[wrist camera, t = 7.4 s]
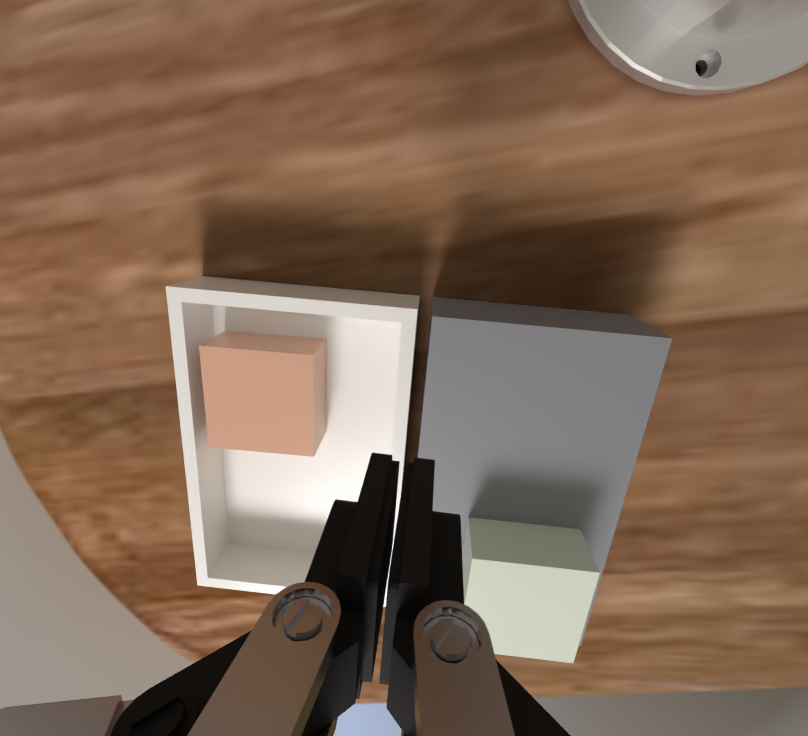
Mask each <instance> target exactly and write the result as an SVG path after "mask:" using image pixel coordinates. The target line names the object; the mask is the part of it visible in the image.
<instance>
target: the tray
mask: <svg viewBox="0 0 808 736" xmlns="http://www.w3.org/2000/svg"><path fill="white" fill-rule="evenodd" d="M166 293H167V303H168V312H169V322H170V331H171V340H172V350H173V359H174V369H175V378H176V387H177V397H178V406H179V416H180V425H181V434H182V444H183V453H184V463H185V472H186V481H187V491H188V500H189V510H190V519H191V528H192V538H193V547H194V557H195V566H196V576H197V585H200V586H208V587H217V588H226V589H234V590H243V591H252V592H260V593H269V594H277V593H279V592H280V591H281V590H283V589H284V588H286V587H288V586H291V585H293V584H296V583H302V582H305V579H306V576H307V574H308V571H309V568H310V565H311V563H312V560H313V557H314V554H315V552H316V549H317V546H318V543H319V541H320V538H321V535H322V532H323V530H324V527H325V524H326V521H327V519H328V516H329V513H330V510H331V508H332V505H333V503H334V501H335V500H336V499H338V500H346V501H354V502H358V498H359V495H360V491H361V488H362V485H363V481H364V478H365V474H366V471H367V467H368V464H369V460H370V457H371V454H372V453H381V454H389V455H392V460H393V461H400V464H399V476H398V488H397V500H396V512H395V523H394V535H393V544H394V537H395V531H396V524H397V518H398V511H399V504H400V498H401V491H402V485H403V477H404V466H405V455H406V444H407V433H408V422H409V411H410V400H411V389H412V378H413V367H414V356H415V345H416V334H417V323H418V312H419V301H420V296H418V295H407V294H396V293H385V292H374V291H363V290H352V289H341V288H330V287H319V286H308V285H297V284H286V283H275V282H264V281H253V280H242V279H231V278H219V277H208V276H200V277H196V278H193V279H189V280H186V281H182V282H179V283H175V284H172V285H168V286H166ZM223 331H234V332H246V333H259V334H271V335H284V336H296V337H309V338H321V339H327V391H326V433H325V435H324V437H323V439H322V441H321V443H320V446H319V448H318V450H317V452H316V454H315V456H314V457H310V456H299V455H288V454H277V453H266V452H255V451H244V450H233V449H222V448H211V447H209V443H208V433H207V423H206V413H205V403H204V393H203V383H202V373H201V363H200V353H199V345H201V344H203V343H204V342H206V341H208V340H210V339H211V338H213V337H215V336H217V335H218V334H220V333H222V332H223ZM392 550H393V546H392ZM391 557H392V553H391ZM390 564H391V560H390ZM389 570H390V567H389ZM388 578H389V573H388ZM387 587H388V580H387V586H386V593H385V599H384V606H383V607H386V598H387Z"/></svg>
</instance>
